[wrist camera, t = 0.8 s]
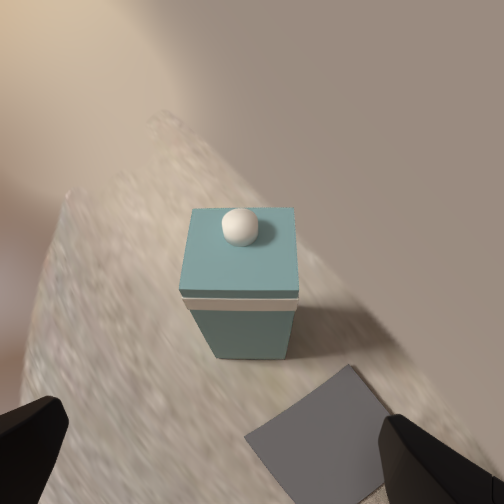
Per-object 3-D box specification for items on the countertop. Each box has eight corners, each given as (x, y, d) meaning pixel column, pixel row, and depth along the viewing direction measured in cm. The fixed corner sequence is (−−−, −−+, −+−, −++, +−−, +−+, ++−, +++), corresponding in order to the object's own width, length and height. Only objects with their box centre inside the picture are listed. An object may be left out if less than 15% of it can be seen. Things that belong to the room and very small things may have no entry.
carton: (285, 359, 22) (302, 281, 12) (215, 358, 22) (172, 281, 12) (284, 303, 24) (295, 195, 15) (219, 302, 25) (188, 197, 15)
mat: (416, 450, 17) (419, 450, 16) (317, 528, 14) (318, 529, 14) (347, 365, 21) (348, 363, 21) (244, 436, 19) (243, 436, 18)
